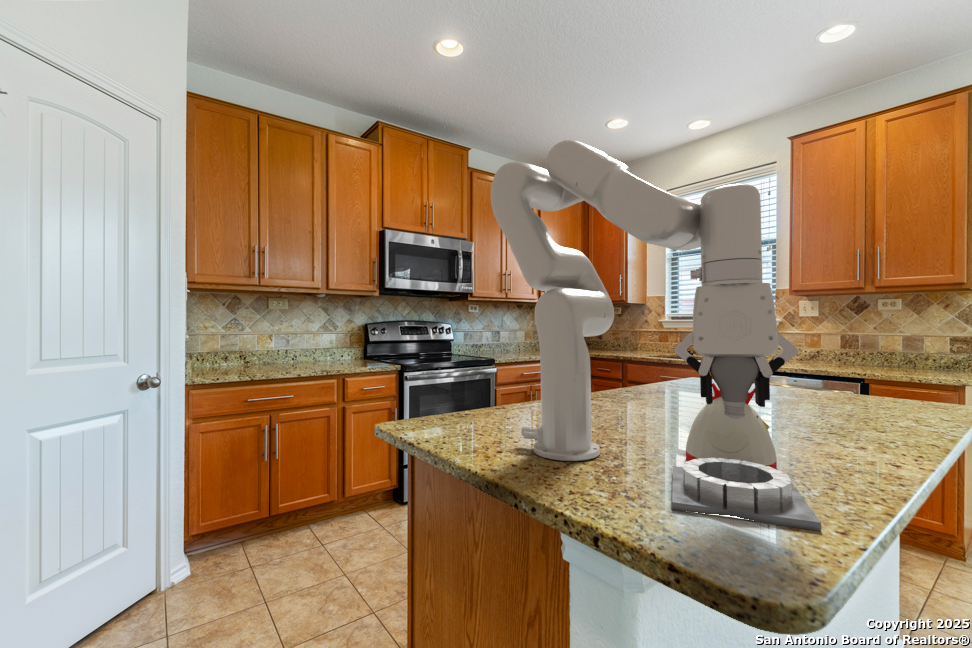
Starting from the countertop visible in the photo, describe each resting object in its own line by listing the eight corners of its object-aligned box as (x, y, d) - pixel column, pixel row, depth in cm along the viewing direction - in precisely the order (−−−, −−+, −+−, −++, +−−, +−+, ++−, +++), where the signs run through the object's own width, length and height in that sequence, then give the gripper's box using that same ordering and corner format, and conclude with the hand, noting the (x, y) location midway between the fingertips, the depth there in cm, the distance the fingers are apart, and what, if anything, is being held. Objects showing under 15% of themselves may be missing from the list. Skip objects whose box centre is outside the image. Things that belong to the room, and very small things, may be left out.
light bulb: (764, 417, 61) (763, 346, 61) (752, 424, 57) (750, 348, 57) (718, 412, 66) (717, 345, 66) (704, 418, 61) (702, 347, 62)
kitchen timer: (776, 482, 67) (774, 384, 67) (679, 467, 75) (678, 379, 75) (776, 459, 79) (775, 376, 79) (693, 448, 86) (691, 372, 86)
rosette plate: (672, 509, 57) (671, 483, 57) (673, 472, 72) (672, 451, 72) (821, 531, 51) (820, 501, 51) (789, 485, 66) (788, 461, 66)
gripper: (664, 277, 62) (667, 405, 61) (812, 268, 55) (816, 412, 55) (665, 282, 69) (668, 397, 68) (797, 274, 62) (800, 403, 61)
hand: (734, 402), depth 61 cm, fingers closed on light bulb, 5 cm apart
